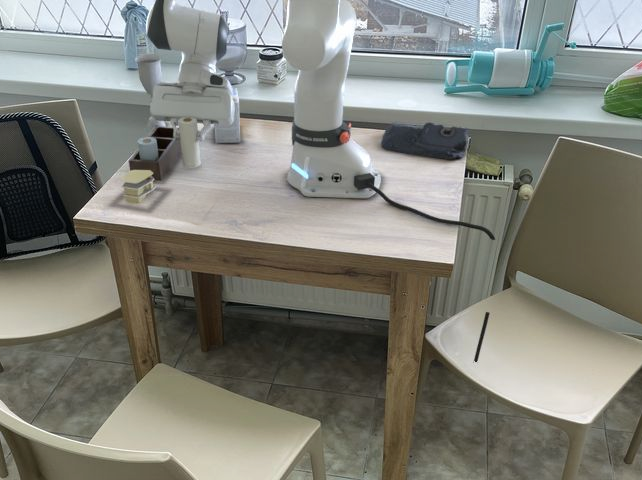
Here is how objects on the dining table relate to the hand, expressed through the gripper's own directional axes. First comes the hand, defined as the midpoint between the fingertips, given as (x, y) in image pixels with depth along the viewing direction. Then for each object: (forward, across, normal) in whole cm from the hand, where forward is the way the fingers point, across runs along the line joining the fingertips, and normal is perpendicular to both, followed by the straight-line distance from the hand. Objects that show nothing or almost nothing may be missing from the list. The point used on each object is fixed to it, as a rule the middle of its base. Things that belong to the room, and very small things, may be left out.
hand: (188, 139), depth 169 cm
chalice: (-12, -17, +24) cm, 32 cm away
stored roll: (+8, -9, +3) cm, 12 cm away
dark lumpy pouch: (-12, +56, +25) cm, 63 cm away
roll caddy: (+4, -9, +8) cm, 13 cm away
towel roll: (+4, 0, +5) cm, 7 cm away
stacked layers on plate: (+17, -8, -5) cm, 19 cm away
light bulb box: (-10, +4, +22) cm, 24 cm away
